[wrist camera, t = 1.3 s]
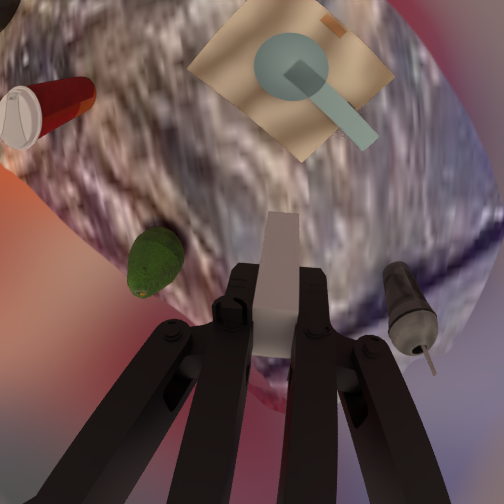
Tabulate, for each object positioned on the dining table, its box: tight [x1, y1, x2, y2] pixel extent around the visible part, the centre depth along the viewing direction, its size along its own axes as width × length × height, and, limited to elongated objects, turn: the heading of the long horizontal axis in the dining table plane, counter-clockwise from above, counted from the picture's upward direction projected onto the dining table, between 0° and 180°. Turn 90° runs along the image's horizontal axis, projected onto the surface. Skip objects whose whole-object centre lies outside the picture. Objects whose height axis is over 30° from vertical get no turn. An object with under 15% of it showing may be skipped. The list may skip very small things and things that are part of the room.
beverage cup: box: [383, 262, 438, 376], centre depth 38 cm, size 7×7×20 cm
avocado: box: [127, 227, 184, 298], centre depth 43 cm, size 8×8×12 cm
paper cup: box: [0, 77, 96, 150], centre depth 29 cm, size 8×8×14 cm
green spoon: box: [254, 33, 379, 151], centre depth 27 cm, size 14×7×3 cm, turn 50°
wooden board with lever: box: [187, 0, 395, 163], centre depth 29 cm, size 18×16×4 cm
